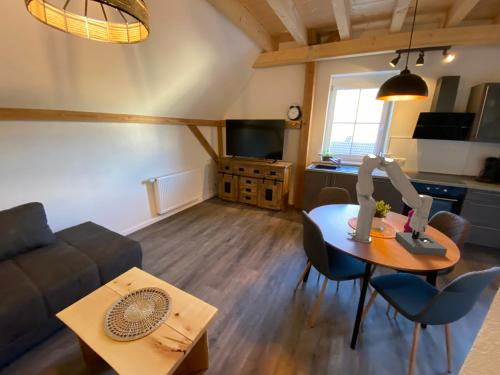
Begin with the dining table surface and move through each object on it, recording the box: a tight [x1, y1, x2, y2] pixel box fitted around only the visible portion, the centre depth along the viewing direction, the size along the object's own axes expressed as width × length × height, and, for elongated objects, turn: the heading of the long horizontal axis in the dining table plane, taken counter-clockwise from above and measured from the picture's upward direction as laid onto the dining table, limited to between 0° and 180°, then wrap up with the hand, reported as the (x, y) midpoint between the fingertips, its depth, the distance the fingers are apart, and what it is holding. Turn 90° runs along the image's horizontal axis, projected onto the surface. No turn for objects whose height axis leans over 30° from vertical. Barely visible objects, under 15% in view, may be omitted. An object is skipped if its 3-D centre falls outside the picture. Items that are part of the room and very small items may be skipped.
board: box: [394, 231, 448, 257], centre depth 146 cm, size 20×20×5 cm
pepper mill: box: [402, 208, 415, 233], centre depth 163 cm, size 7×7×20 cm
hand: (414, 238), depth 146 cm, fingers closed
